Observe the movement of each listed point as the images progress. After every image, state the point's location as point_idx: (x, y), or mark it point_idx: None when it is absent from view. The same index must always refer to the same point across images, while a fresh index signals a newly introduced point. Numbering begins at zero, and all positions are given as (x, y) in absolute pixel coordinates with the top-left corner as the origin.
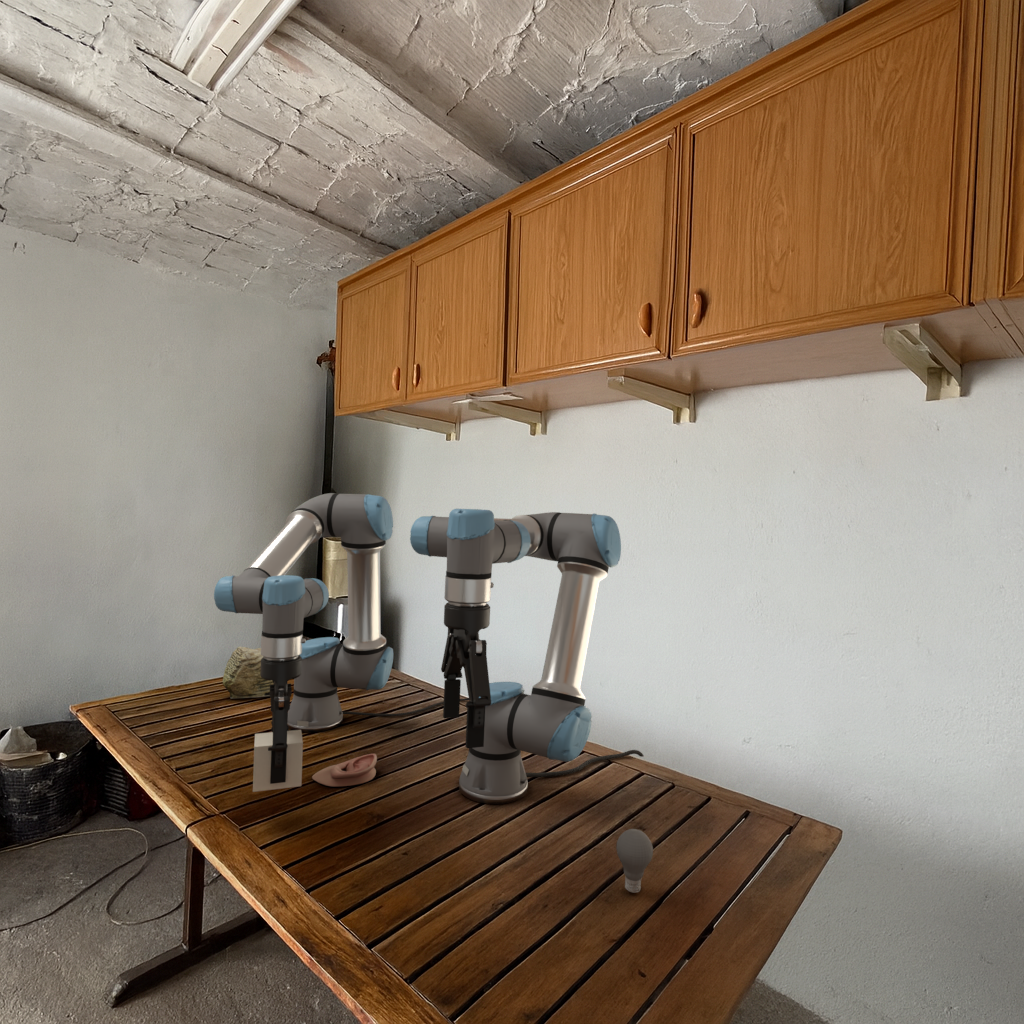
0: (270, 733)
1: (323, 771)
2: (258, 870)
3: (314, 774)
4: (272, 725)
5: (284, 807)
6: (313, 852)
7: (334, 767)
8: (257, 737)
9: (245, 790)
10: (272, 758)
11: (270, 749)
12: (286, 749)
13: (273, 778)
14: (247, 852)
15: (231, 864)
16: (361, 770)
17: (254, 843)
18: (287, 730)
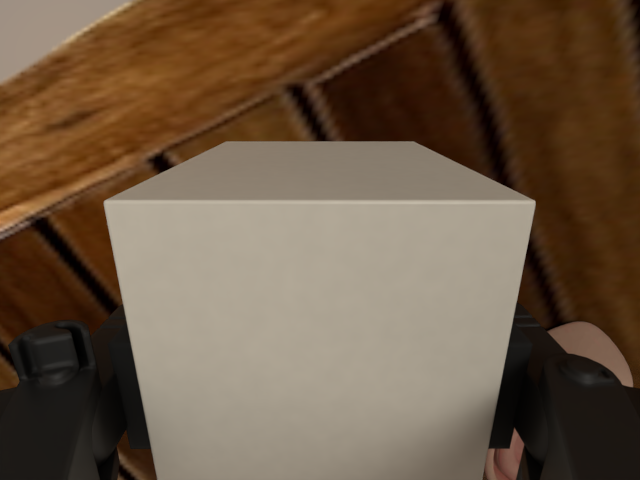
0: (471, 354)
1: None
2: (28, 151)
3: (589, 332)
4: (559, 421)
5: None
6: (111, 296)
7: None
8: (399, 230)
9: (603, 95)
10: None
11: (27, 351)
12: (133, 438)
13: None
14: (135, 116)
15: (67, 66)
16: (504, 469)
17: (188, 137)
18: (518, 472)
